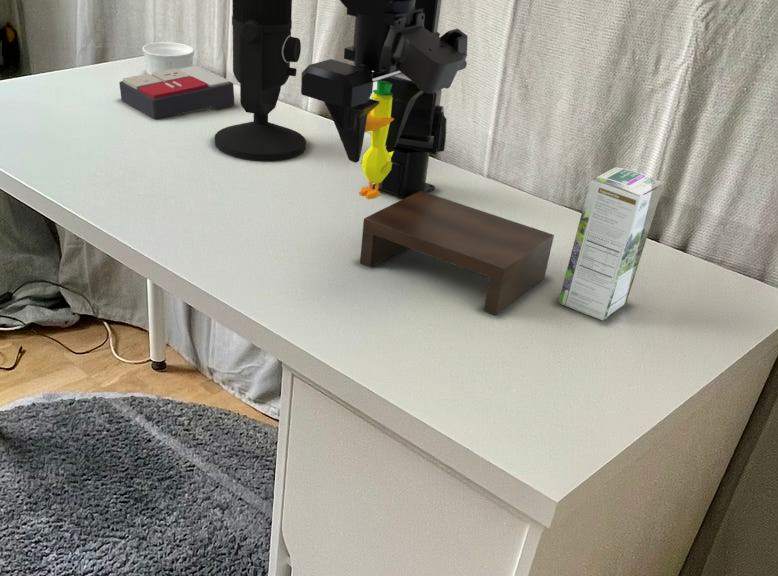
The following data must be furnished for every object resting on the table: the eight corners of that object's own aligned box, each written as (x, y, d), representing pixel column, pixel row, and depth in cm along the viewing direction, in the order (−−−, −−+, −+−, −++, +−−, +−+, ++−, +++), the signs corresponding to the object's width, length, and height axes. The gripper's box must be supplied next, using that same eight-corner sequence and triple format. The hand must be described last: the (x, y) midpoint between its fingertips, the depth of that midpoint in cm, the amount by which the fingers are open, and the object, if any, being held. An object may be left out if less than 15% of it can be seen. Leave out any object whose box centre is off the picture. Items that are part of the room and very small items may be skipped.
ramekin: (204, 77, 158) (203, 51, 156) (160, 83, 153) (158, 57, 151) (177, 65, 163) (176, 39, 161) (134, 70, 159) (132, 44, 156)
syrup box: (581, 287, 103) (613, 163, 94) (628, 306, 100) (665, 179, 91) (557, 304, 99) (588, 176, 90) (605, 323, 96) (641, 193, 87)
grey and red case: (117, 76, 142) (197, 61, 150) (120, 104, 145) (199, 87, 153) (152, 95, 136) (234, 78, 144) (155, 123, 139) (235, 105, 146)
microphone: (289, 167, 126) (295, -30, 111) (200, 151, 129) (194, -44, 113) (317, 138, 137) (326, -45, 122) (234, 124, 139) (233, -57, 124)
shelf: (415, 232, 111) (420, 190, 108) (544, 279, 104) (554, 234, 100) (359, 263, 103) (363, 218, 100) (495, 315, 96) (504, 268, 92)
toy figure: (357, 207, 96) (367, 92, 88) (335, 196, 98) (342, 83, 90) (401, 194, 99) (413, 82, 92) (378, 183, 101) (388, 73, 94)
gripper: (399, 25, 76) (383, 199, 86) (505, -2, 89) (480, 153, 98) (300, 0, 81) (294, 167, 91) (413, -22, 94) (398, 127, 103)
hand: (372, 154), depth 96 cm, fingers closed on toy figure, 6 cm apart
